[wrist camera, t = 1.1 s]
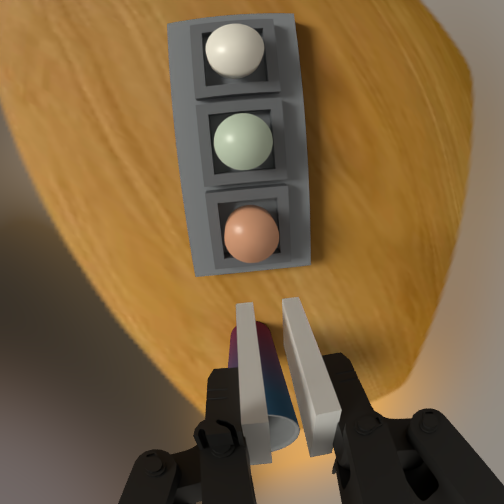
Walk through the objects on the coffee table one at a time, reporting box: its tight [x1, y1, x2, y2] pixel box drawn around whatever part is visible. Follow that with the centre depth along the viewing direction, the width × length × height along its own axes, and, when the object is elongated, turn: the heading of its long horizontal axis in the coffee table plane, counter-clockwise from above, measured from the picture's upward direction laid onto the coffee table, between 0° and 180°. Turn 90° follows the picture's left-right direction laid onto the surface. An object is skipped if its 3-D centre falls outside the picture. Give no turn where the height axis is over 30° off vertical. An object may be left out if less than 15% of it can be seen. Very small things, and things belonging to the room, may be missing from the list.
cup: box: [228, 321, 300, 452], centre depth 29 cm, size 7×7×15 cm
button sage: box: [214, 113, 273, 170], centre depth 23 cm, size 5×5×2 cm
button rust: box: [224, 205, 279, 263], centre depth 26 cm, size 5×5×2 cm
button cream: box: [206, 24, 264, 79], centre depth 20 cm, size 5×5×2 cm
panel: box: [167, 13, 311, 277], centre depth 26 cm, size 26×12×4 cm, turn 5°
